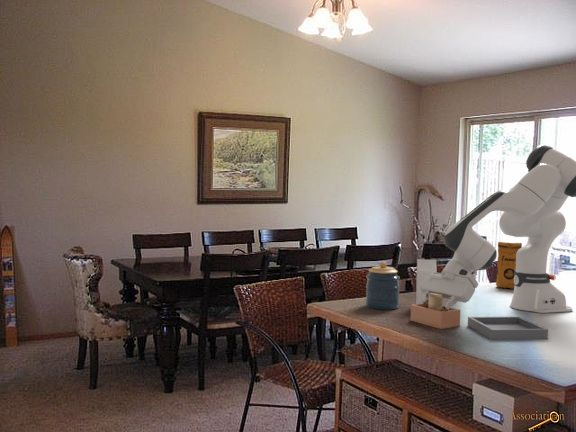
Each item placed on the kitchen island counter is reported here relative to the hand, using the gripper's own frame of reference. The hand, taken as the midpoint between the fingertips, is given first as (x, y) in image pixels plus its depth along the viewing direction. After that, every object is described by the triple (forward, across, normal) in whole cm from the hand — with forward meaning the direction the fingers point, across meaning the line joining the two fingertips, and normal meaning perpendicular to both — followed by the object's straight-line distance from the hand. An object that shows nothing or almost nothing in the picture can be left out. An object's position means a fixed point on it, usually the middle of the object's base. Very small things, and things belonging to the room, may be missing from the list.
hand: (434, 305), depth 193 cm
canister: (+2, -30, +7) cm, 31 cm away
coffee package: (-58, -34, +66) cm, 94 cm away
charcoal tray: (-4, +20, +12) cm, 24 cm away
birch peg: (+4, 0, +5) cm, 6 cm away
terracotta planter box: (+4, 0, +5) cm, 6 cm away
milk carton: (-7, -19, +16) cm, 26 cm away
